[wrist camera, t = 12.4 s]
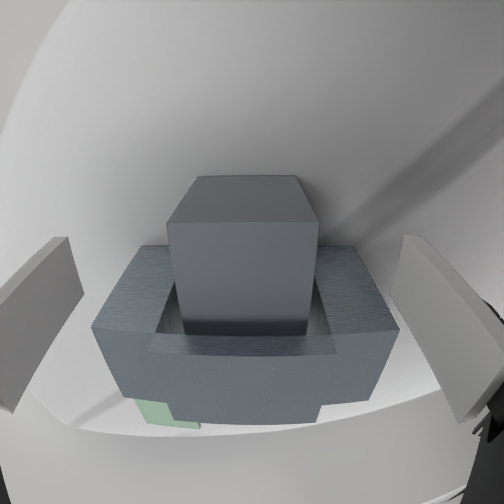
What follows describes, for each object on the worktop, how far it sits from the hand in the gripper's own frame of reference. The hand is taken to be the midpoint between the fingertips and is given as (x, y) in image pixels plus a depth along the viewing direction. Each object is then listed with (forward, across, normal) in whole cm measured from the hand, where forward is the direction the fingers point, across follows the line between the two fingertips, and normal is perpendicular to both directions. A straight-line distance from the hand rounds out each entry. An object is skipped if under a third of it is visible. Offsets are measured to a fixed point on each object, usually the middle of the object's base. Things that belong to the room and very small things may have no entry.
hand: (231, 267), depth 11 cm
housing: (+9, 0, -7) cm, 11 cm away
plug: (+9, +1, -7) cm, 12 cm away
